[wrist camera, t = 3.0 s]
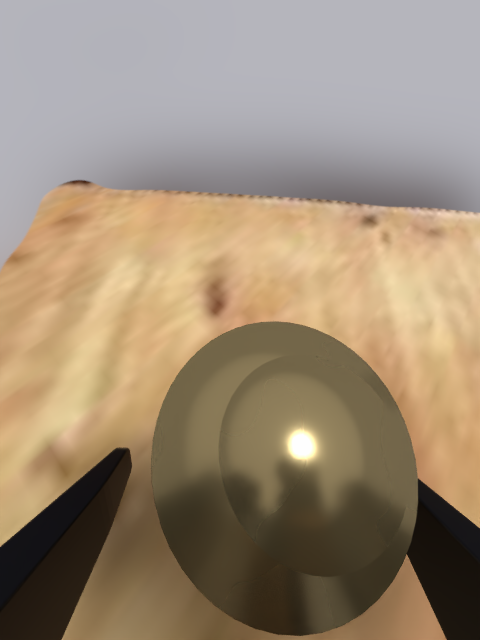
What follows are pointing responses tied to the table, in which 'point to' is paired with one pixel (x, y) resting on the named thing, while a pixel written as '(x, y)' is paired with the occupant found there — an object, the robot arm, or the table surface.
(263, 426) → the brass weight
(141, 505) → the table surface
